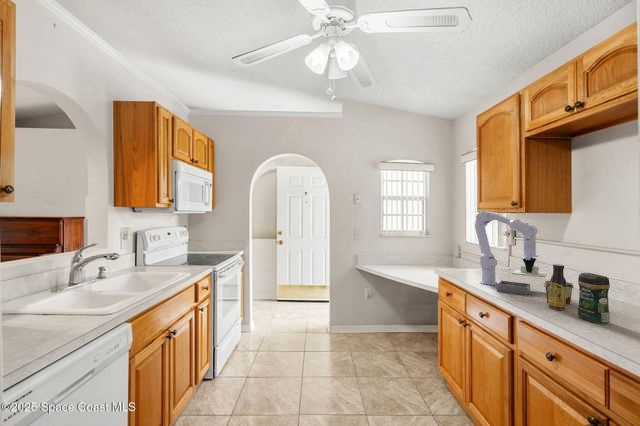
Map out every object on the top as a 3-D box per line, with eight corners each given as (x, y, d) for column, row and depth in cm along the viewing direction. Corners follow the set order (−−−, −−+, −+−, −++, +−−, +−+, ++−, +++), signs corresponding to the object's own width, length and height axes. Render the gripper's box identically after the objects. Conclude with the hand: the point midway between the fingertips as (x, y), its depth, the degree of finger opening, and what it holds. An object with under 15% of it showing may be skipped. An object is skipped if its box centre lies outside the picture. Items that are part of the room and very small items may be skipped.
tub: (501, 287, 186) (501, 280, 186) (530, 291, 178) (530, 283, 178) (497, 291, 177) (497, 284, 177) (527, 295, 168) (527, 287, 168)
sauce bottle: (544, 307, 146) (545, 263, 147) (554, 306, 149) (554, 263, 149) (560, 311, 140) (560, 266, 140) (569, 310, 143) (569, 265, 143)
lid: (515, 271, 189) (515, 263, 189) (546, 274, 180) (546, 266, 180) (512, 274, 179) (512, 266, 179) (545, 277, 169) (545, 269, 169)
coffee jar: (573, 316, 134) (573, 271, 134) (591, 316, 134) (591, 271, 134) (595, 324, 124) (595, 276, 124) (614, 324, 125) (614, 276, 125)
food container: (565, 301, 157) (565, 280, 157) (573, 305, 151) (573, 283, 151) (538, 300, 158) (538, 280, 158) (545, 304, 152) (545, 282, 152)
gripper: (536, 248, 171) (536, 274, 171) (539, 246, 182) (539, 270, 182) (521, 247, 176) (521, 272, 175) (524, 245, 187) (524, 269, 187)
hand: (529, 271), depth 179 cm, fingers closed on lid, 4 cm apart
